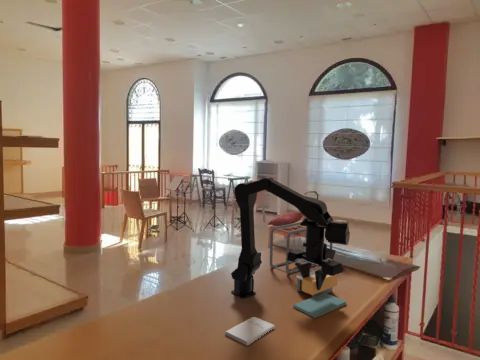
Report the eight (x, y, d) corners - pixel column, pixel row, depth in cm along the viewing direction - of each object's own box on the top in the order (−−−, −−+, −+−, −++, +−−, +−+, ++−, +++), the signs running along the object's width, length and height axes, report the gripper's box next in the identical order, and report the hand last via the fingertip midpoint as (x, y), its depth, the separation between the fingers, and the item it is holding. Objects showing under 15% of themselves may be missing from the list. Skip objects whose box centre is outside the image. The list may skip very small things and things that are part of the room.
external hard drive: (224, 336, 105) (252, 320, 114) (247, 347, 99) (274, 330, 109) (224, 331, 104) (253, 315, 114) (247, 341, 99) (274, 324, 108)
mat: (315, 318, 115) (315, 314, 115) (293, 307, 122) (293, 304, 122) (346, 304, 125) (346, 301, 125) (324, 295, 132) (324, 292, 132)
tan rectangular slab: (312, 295, 117) (312, 282, 116) (301, 290, 120) (302, 278, 120) (337, 285, 125) (337, 273, 125) (326, 281, 129) (326, 270, 128)
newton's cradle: (314, 255, 178) (315, 218, 176) (332, 260, 170) (333, 222, 168) (268, 268, 159) (270, 227, 157) (287, 275, 151) (288, 232, 149)
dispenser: (312, 298, 129) (313, 282, 128) (295, 291, 135) (296, 275, 134) (332, 291, 136) (332, 275, 135) (314, 284, 142) (315, 269, 141)
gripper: (355, 242, 116) (352, 290, 118) (308, 230, 131) (307, 273, 133) (332, 249, 109) (330, 299, 111) (286, 235, 124) (285, 280, 126)
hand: (312, 287), depth 120 cm, fingers closed on tan rectangular slab, 4 cm apart
